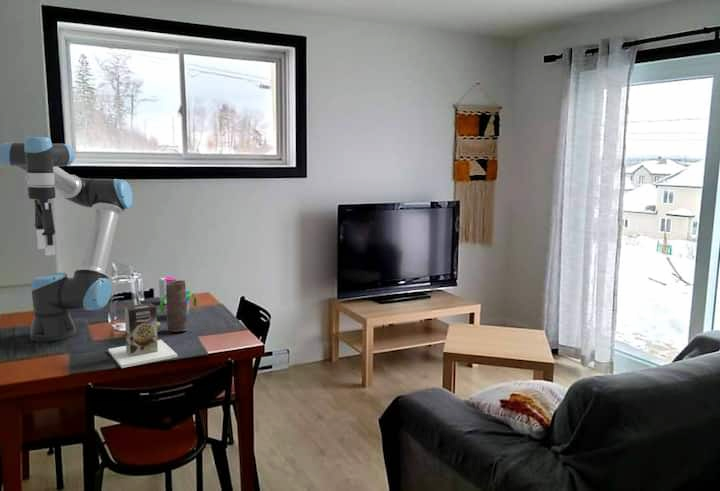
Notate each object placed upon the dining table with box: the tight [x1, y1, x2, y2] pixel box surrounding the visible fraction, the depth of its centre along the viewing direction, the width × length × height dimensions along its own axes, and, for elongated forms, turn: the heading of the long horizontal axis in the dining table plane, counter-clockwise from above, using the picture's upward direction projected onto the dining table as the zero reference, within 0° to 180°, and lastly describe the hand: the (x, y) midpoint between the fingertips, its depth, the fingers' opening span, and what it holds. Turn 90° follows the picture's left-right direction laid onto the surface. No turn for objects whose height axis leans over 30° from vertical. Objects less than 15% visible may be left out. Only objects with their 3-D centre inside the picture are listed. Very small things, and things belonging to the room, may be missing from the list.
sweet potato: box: [166, 279, 188, 333], centre depth 216 cm, size 8×7×20 cm
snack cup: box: [159, 290, 198, 317], centre depth 236 cm, size 16×10×10 cm
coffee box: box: [124, 302, 158, 356], centre depth 191 cm, size 9×6×16 cm
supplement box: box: [158, 276, 177, 306], centre depth 256 cm, size 6×6×12 cm
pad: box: [107, 339, 178, 369], centre depth 192 cm, size 18×18×1 cm
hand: (46, 251), depth 182 cm, fingers open, 13 cm apart
